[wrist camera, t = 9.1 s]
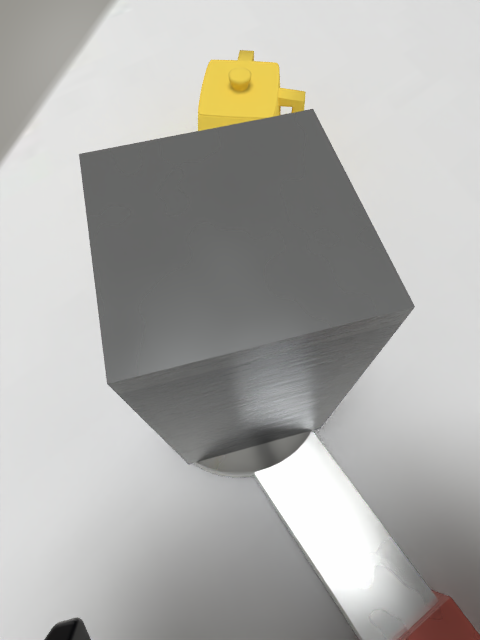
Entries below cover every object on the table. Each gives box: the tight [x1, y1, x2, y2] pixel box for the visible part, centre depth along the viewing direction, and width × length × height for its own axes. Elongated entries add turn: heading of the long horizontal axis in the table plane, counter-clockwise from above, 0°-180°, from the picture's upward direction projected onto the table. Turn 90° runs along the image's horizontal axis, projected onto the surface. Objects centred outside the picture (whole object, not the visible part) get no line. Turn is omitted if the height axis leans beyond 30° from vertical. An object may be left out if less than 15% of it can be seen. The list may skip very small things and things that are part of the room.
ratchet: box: [193, 431, 480, 640], centre depth 14 cm, size 20×7×4 cm, turn 34°
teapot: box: [198, 50, 305, 131], centre depth 23 cm, size 8×6×5 cm
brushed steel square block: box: [79, 109, 415, 464], centre depth 12 cm, size 5×5×10 cm
